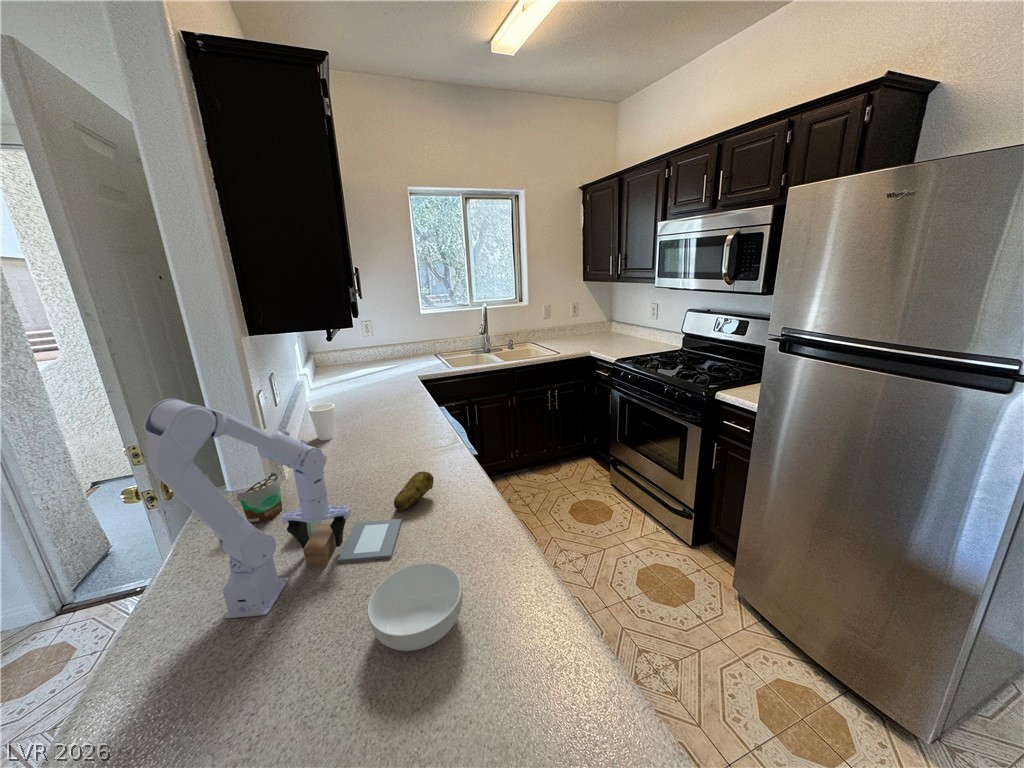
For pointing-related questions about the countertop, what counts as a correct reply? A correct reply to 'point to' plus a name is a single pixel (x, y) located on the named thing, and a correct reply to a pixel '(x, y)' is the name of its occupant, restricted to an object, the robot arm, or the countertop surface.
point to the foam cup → (323, 420)
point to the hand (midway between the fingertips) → (323, 545)
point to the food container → (262, 500)
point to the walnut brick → (320, 546)
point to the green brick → (312, 527)
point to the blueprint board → (371, 540)
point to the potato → (414, 490)
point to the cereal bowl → (415, 606)
